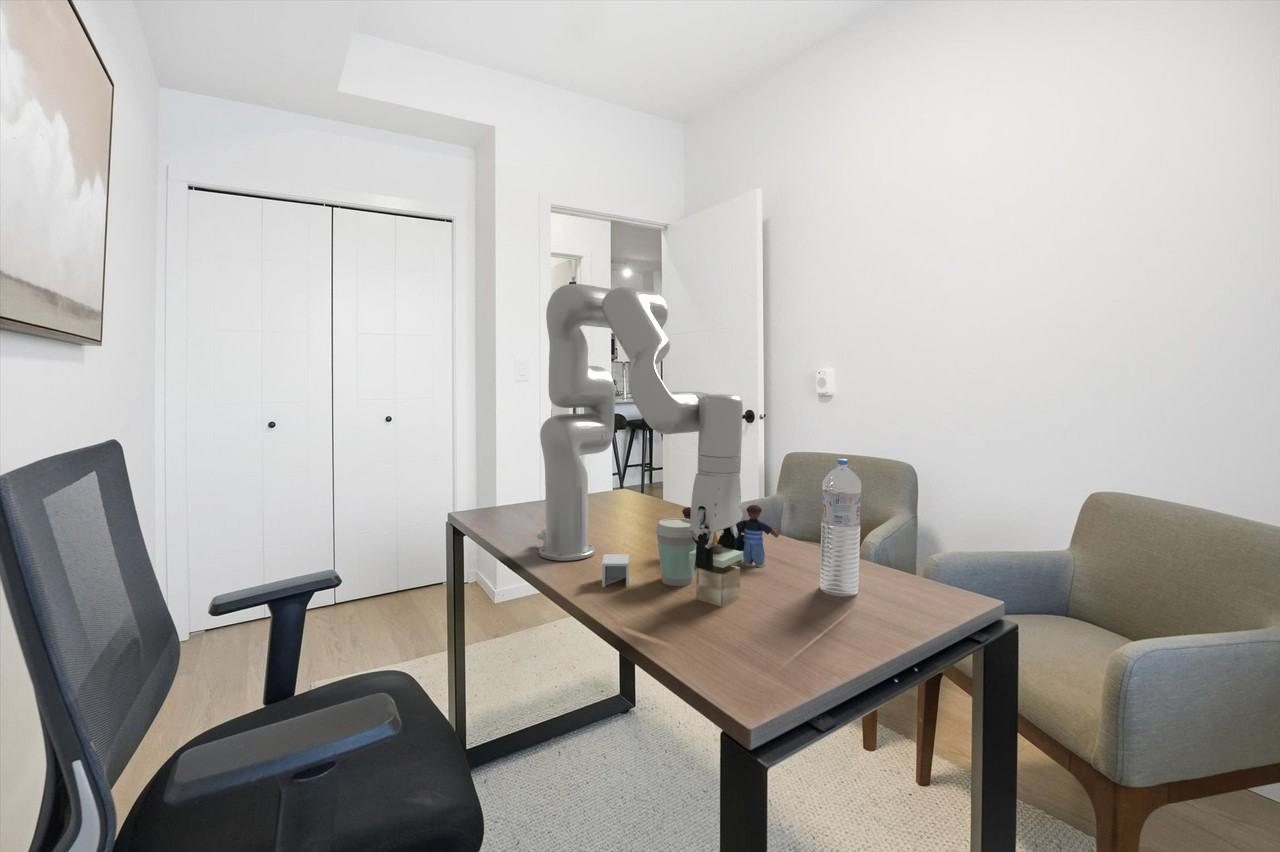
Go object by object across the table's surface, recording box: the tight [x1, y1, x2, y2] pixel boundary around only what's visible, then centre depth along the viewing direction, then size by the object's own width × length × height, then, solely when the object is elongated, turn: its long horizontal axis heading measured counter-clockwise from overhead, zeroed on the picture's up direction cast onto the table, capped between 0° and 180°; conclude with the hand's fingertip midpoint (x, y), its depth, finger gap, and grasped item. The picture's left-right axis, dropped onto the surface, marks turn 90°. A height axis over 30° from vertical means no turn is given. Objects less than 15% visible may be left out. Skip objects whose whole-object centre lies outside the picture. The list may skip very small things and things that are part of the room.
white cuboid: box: [601, 553, 630, 588], centre depth 115 cm, size 6×5×5 cm
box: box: [695, 564, 741, 608], centre depth 106 cm, size 6×6×6 cm
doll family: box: [681, 504, 780, 568], centre depth 130 cm, size 23×9×13 cm, turn 81°
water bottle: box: [819, 458, 863, 598], centre depth 110 cm, size 7×7×25 cm
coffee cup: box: [655, 517, 696, 587], centre depth 116 cm, size 8×8×12 cm
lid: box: [689, 543, 744, 568], centre depth 106 cm, size 7×7×2 cm
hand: (715, 562), depth 107 cm, fingers closed on lid, 7 cm apart
